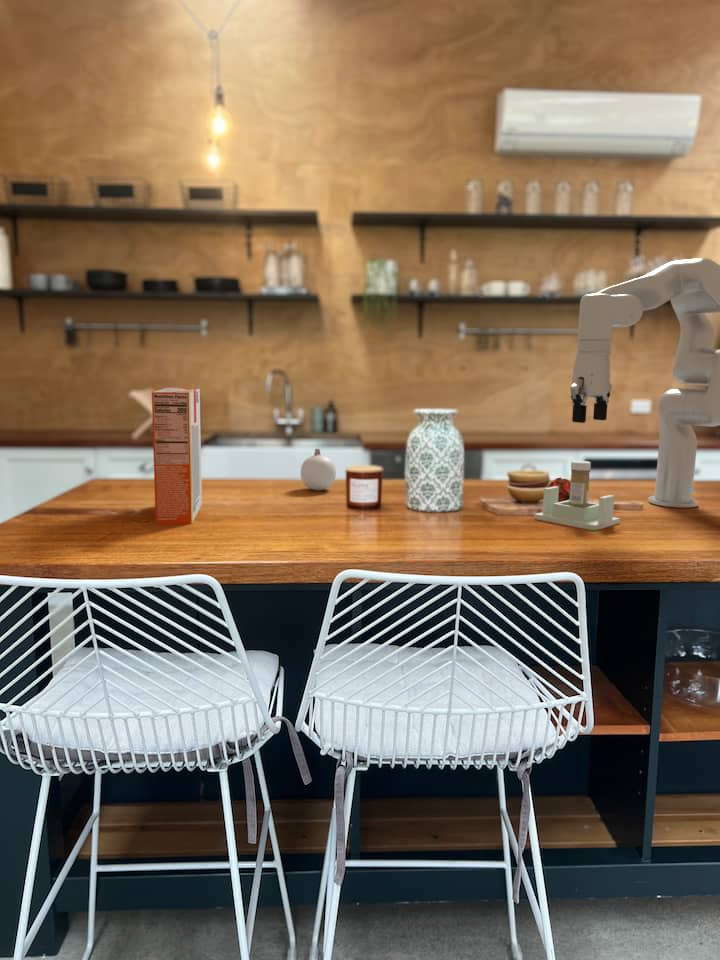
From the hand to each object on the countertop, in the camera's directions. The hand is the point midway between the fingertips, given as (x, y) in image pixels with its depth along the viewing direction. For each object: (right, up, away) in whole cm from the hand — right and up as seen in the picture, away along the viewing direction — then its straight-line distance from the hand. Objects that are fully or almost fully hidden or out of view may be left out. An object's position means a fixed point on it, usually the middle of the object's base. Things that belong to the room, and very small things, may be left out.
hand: (589, 421), depth 173 cm
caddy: (-2, -24, +4) cm, 24 cm away
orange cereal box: (-99, -22, +5) cm, 101 cm away
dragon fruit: (-1, -22, +20) cm, 29 cm away
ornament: (-67, -17, +39) cm, 79 cm away
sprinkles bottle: (-2, -23, +4) cm, 23 cm away
